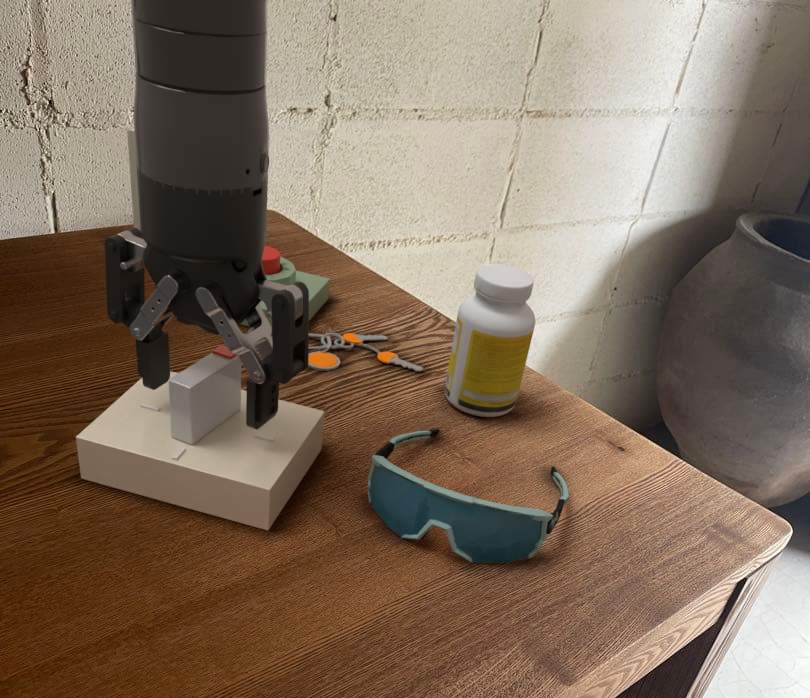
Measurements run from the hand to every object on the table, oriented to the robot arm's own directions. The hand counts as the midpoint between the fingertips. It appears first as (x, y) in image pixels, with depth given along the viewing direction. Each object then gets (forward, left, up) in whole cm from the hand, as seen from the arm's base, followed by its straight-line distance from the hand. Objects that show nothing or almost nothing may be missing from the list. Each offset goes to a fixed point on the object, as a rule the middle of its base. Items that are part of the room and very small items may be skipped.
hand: (207, 403), depth 60 cm
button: (-7, +27, -2) cm, 28 cm away
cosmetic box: (-21, +35, -5) cm, 41 cm away
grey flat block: (0, 0, -2) cm, 2 cm away
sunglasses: (+19, +4, -5) cm, 20 cm away
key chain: (+4, +22, -6) cm, 23 cm away
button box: (-7, +27, -5) cm, 28 cm away
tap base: (0, 0, -5) cm, 5 cm away
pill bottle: (+17, +19, -5) cm, 26 cm away
